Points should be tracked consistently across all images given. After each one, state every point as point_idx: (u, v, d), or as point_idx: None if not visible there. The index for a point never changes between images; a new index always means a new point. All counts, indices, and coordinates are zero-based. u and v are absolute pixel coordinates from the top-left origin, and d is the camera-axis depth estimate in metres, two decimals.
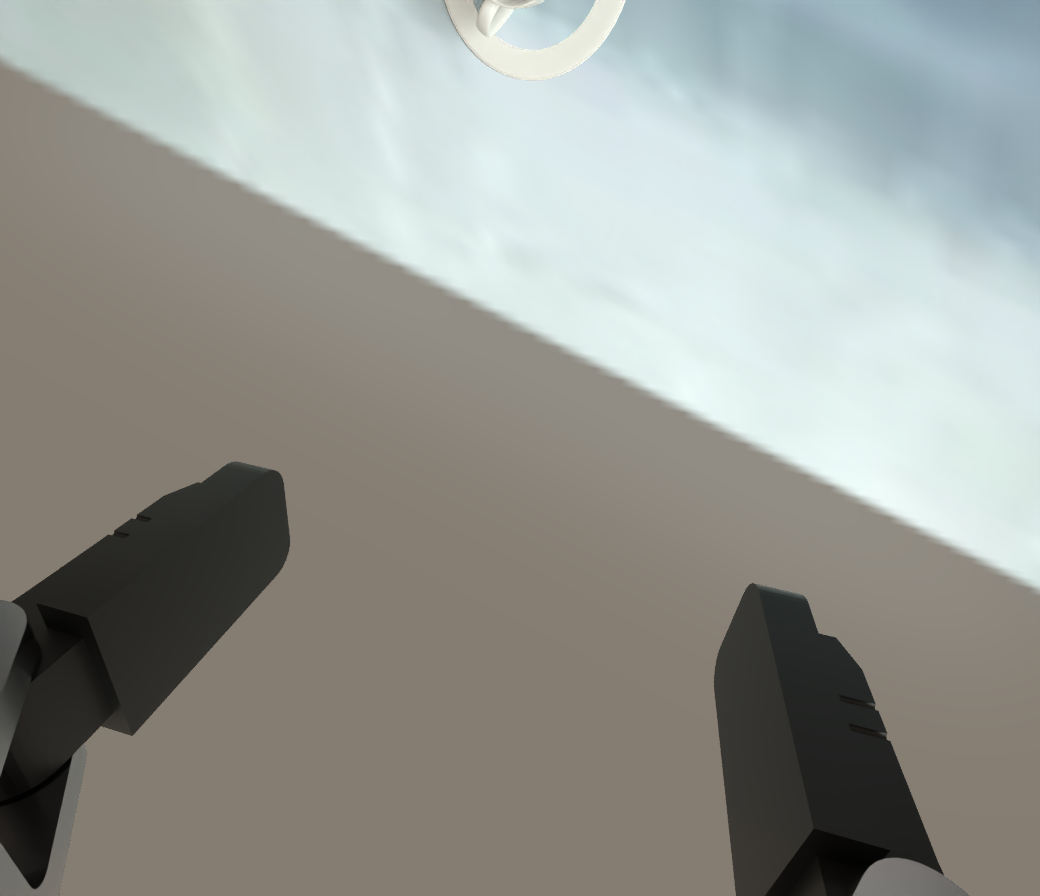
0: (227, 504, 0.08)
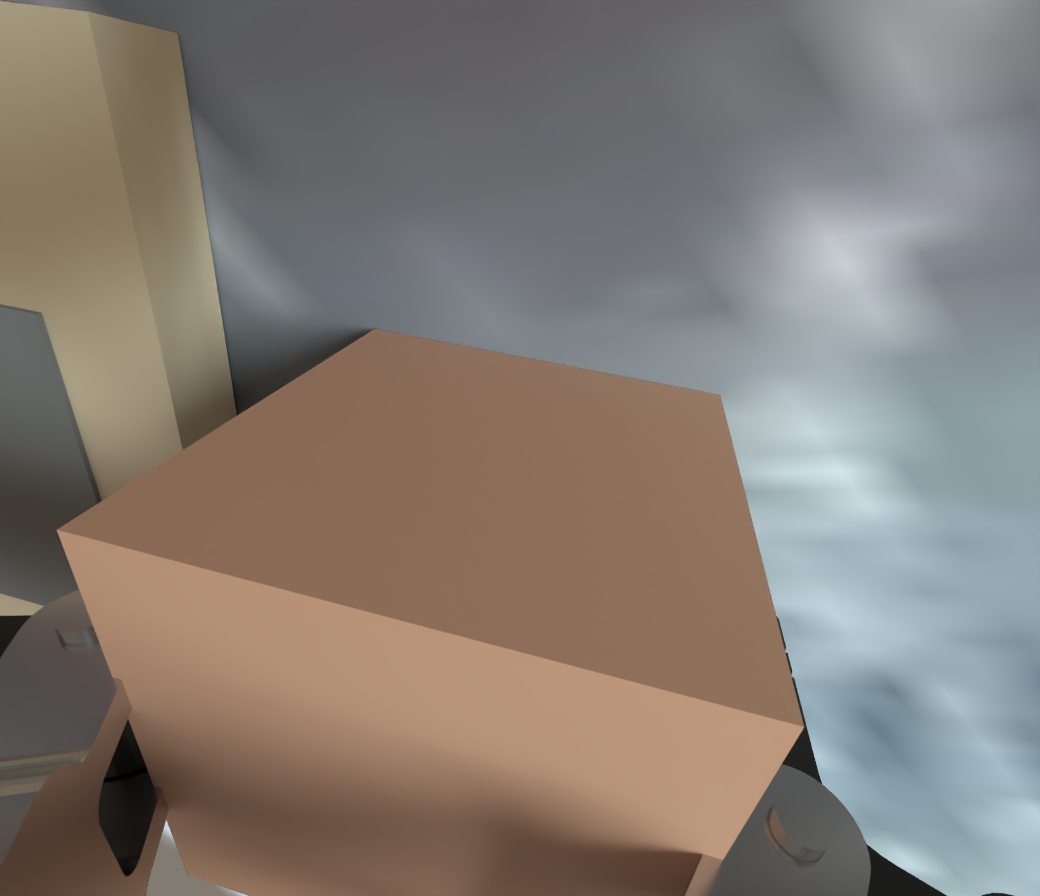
0: None
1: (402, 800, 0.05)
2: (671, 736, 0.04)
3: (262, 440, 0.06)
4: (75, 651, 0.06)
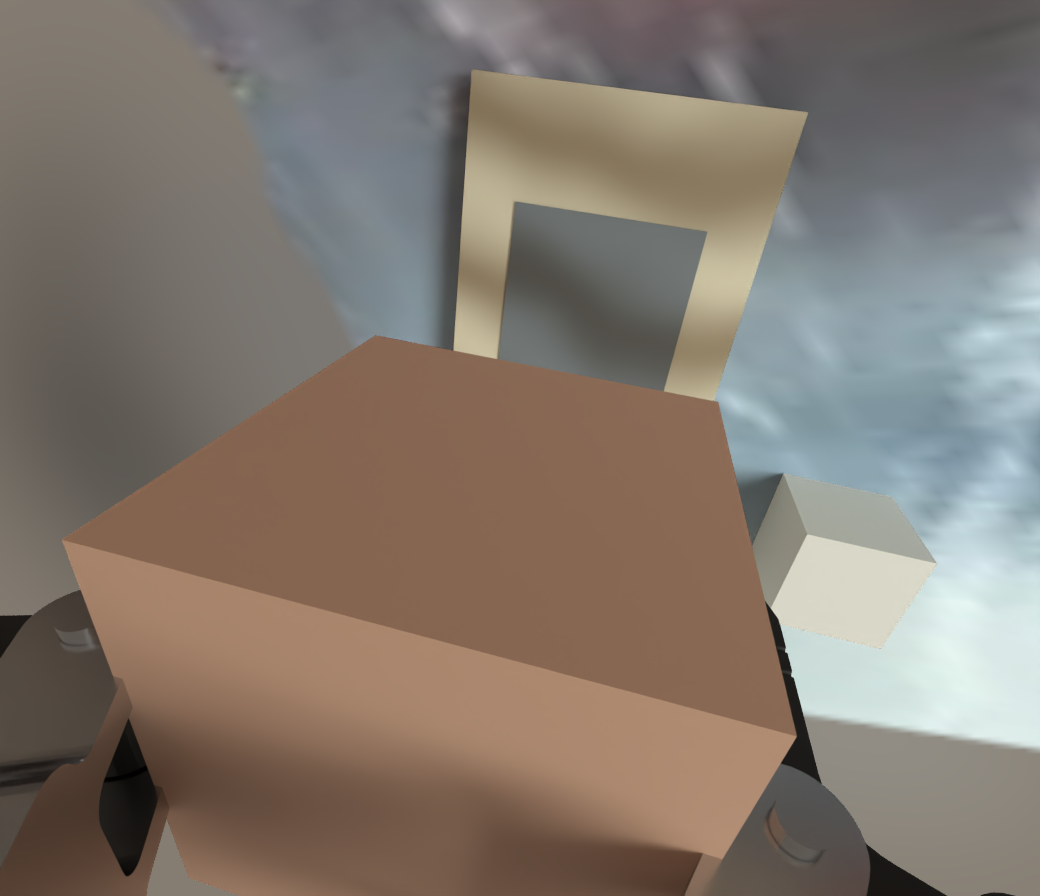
0: None
1: (402, 806, 0.05)
2: (667, 745, 0.04)
3: (264, 449, 0.06)
4: (75, 651, 0.06)
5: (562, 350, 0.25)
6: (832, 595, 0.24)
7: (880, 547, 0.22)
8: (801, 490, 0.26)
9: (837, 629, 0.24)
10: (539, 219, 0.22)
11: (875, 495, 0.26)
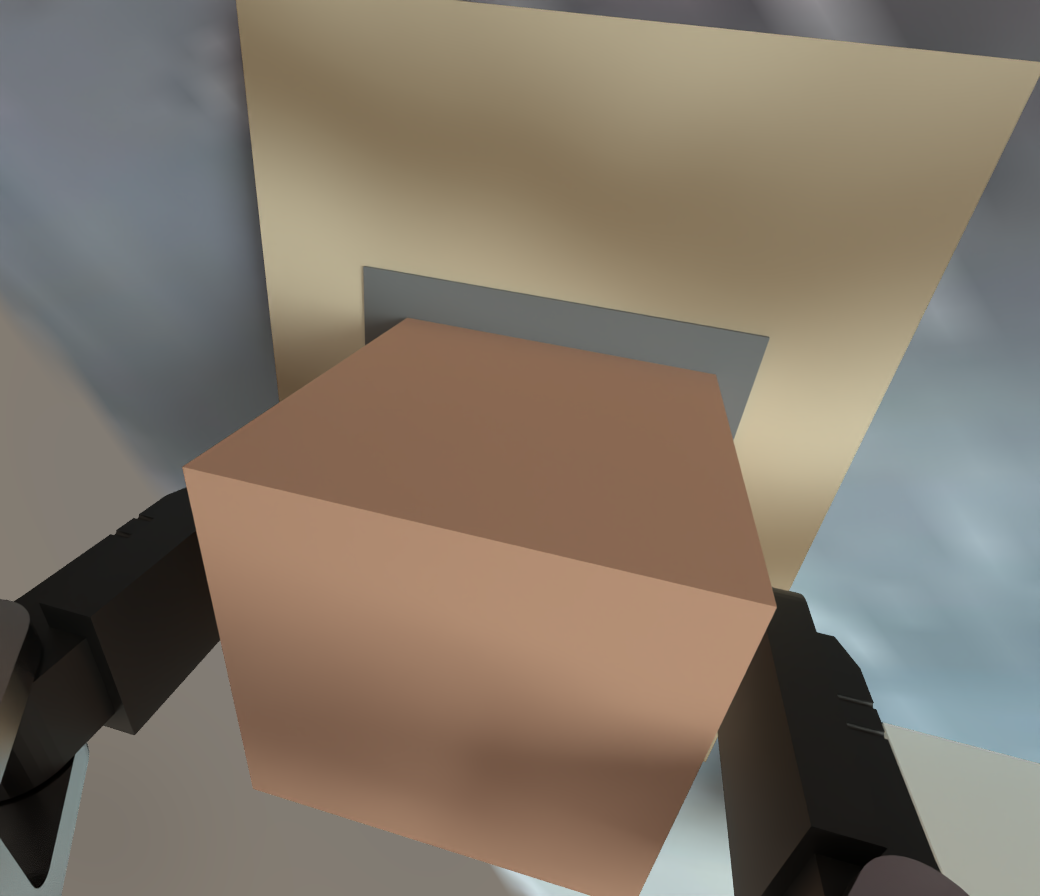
0: None
1: (452, 698, 0.07)
2: (675, 622, 0.05)
3: (329, 406, 0.07)
4: None
5: None
6: None
7: None
8: (923, 776, 0.14)
9: None
10: (414, 302, 0.11)
11: None
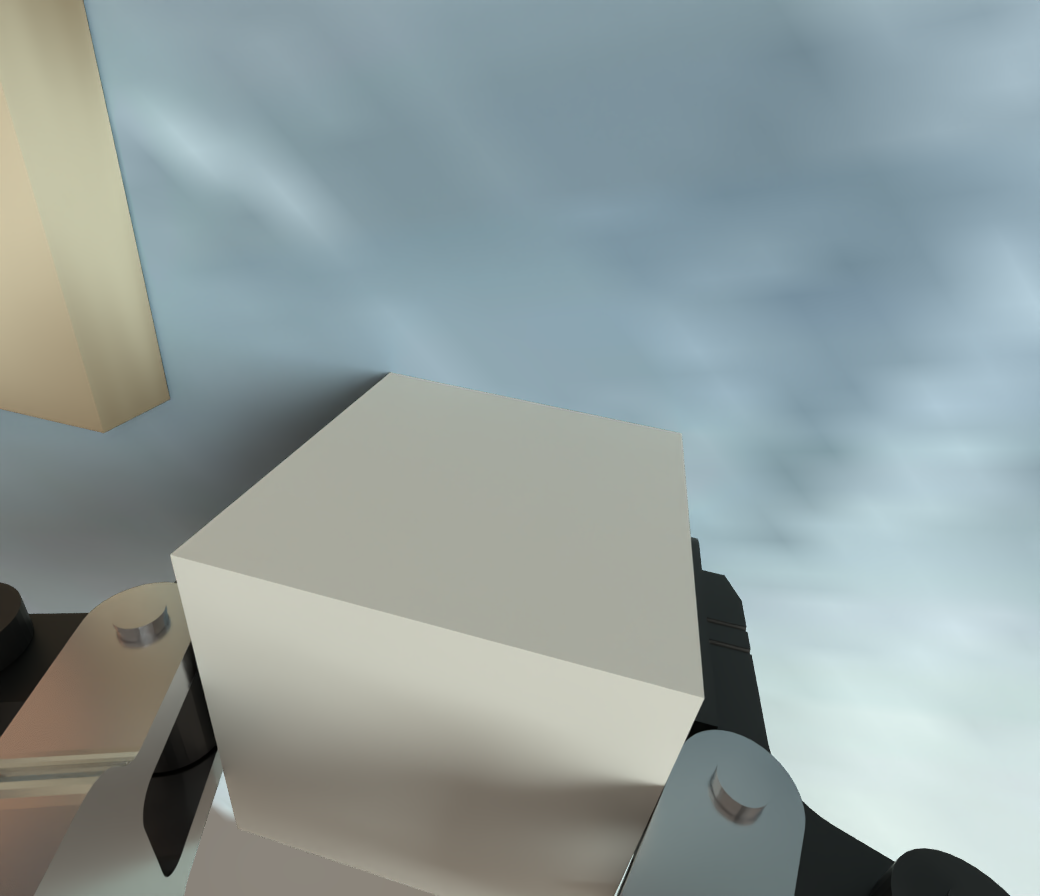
0: None
1: None
2: None
3: None
4: (134, 648, 0.06)
5: None
6: (376, 780, 0.06)
7: (474, 615, 0.05)
8: (383, 412, 0.08)
9: (441, 878, 0.07)
10: None
11: (630, 430, 0.09)
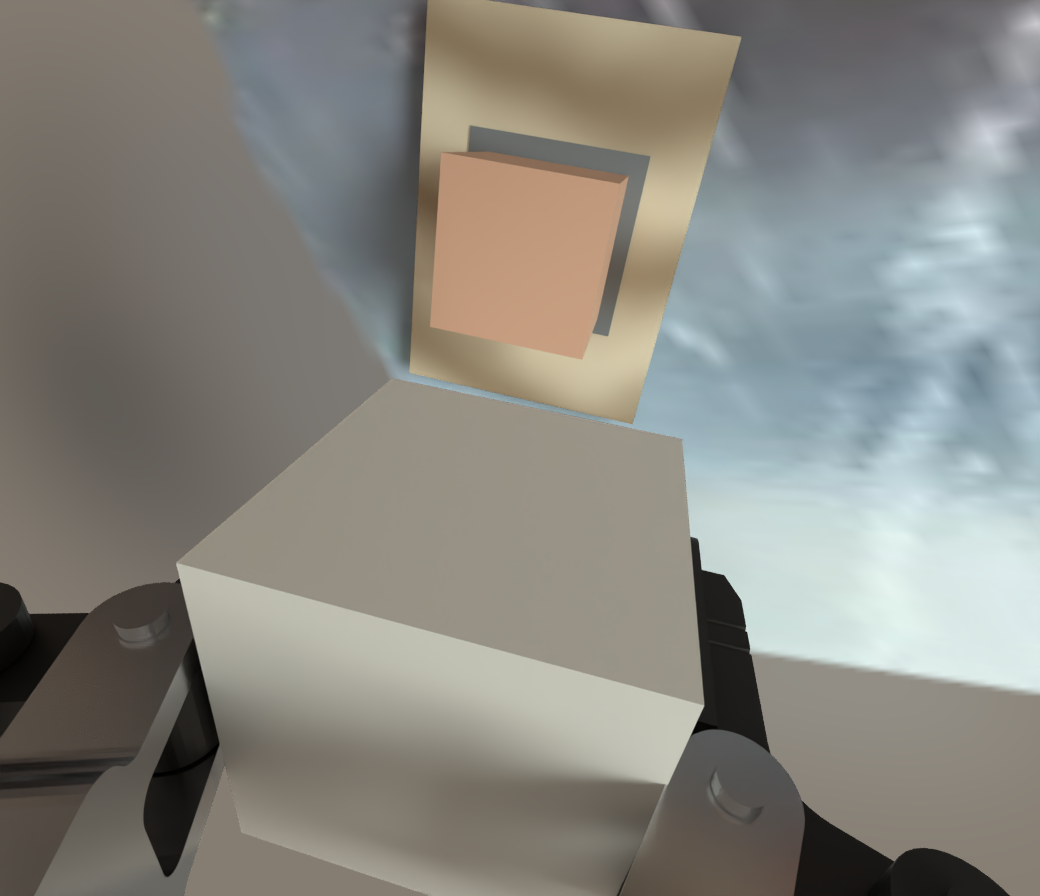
0: None
1: (520, 247, 0.19)
2: (592, 195, 0.18)
3: (474, 154, 0.20)
4: (135, 648, 0.06)
5: None
6: (379, 785, 0.06)
7: (476, 622, 0.05)
8: (386, 418, 0.08)
9: (444, 882, 0.07)
10: (493, 143, 0.23)
11: (631, 436, 0.09)
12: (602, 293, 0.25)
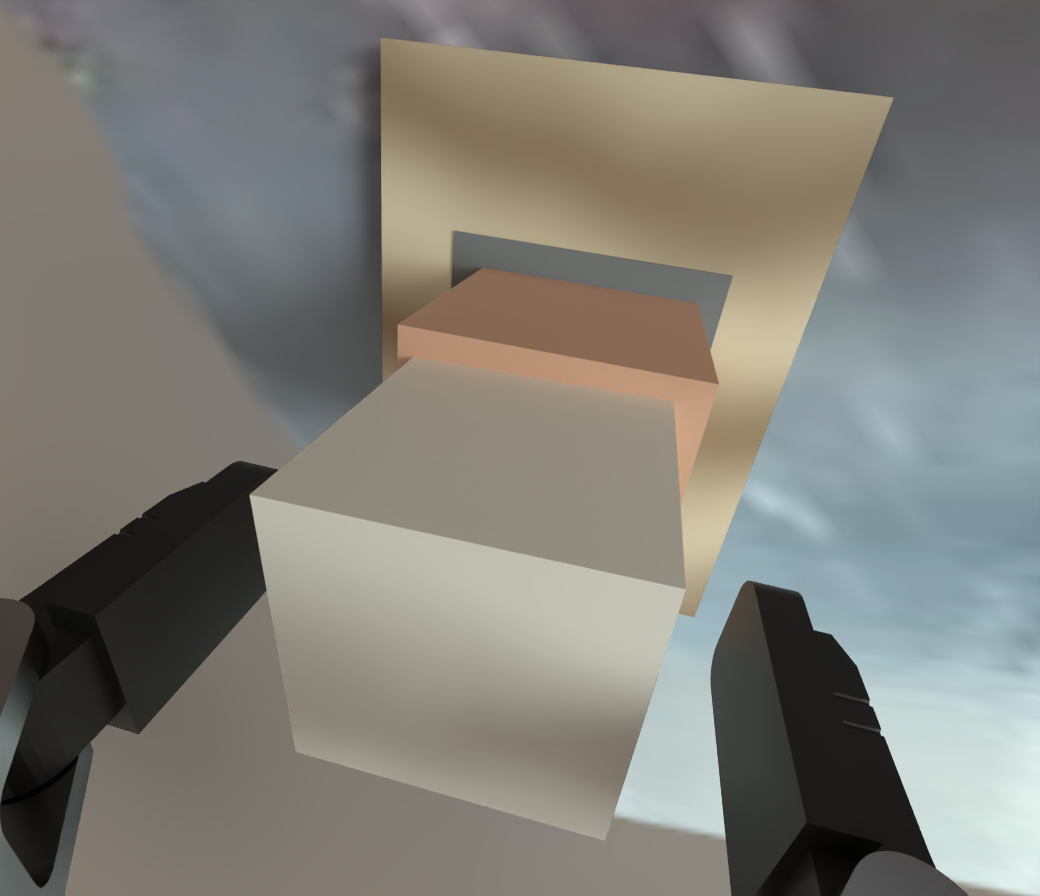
0: (232, 503, 0.08)
1: None
2: None
3: (458, 305, 0.12)
4: None
5: None
6: (417, 691, 0.07)
7: (497, 534, 0.06)
8: (410, 388, 0.09)
9: (474, 783, 0.08)
10: (489, 256, 0.15)
11: (628, 398, 0.10)
12: None
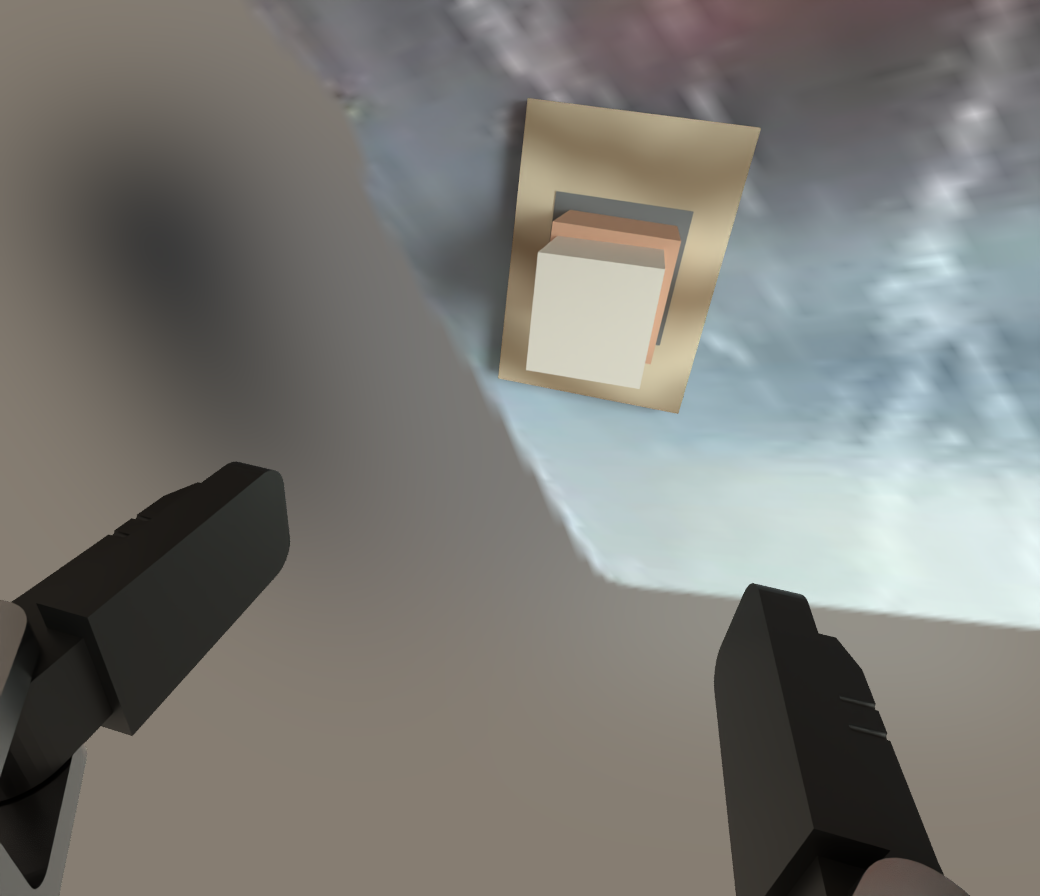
0: (227, 504, 0.08)
1: None
2: None
3: (570, 219, 0.28)
4: None
5: None
6: (579, 327, 0.23)
7: (612, 261, 0.22)
8: (564, 241, 0.25)
9: (594, 370, 0.24)
10: (573, 203, 0.31)
11: (646, 248, 0.25)
12: None
